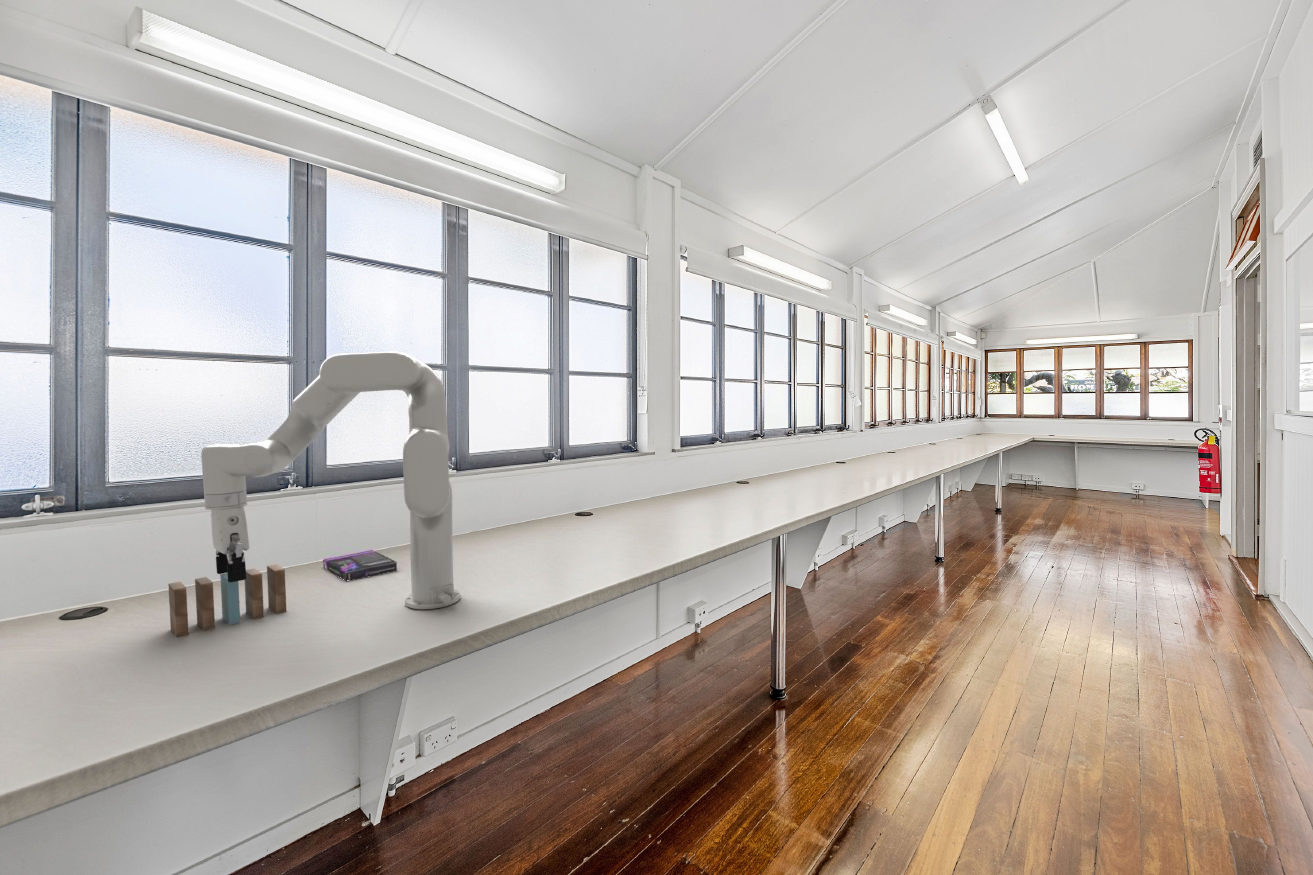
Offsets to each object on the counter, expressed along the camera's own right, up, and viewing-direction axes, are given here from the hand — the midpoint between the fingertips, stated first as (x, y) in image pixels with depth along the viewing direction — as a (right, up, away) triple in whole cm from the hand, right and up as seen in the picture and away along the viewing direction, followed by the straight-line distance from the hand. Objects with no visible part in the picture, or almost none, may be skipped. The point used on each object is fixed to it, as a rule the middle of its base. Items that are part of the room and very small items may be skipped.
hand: (231, 576), depth 130 cm
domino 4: (+3, -10, +4) cm, 11 cm away
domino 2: (-3, -10, -3) cm, 11 cm away
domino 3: (0, -10, 0) cm, 10 cm away
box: (+8, -8, +40) cm, 42 cm away
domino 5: (+6, -9, +7) cm, 13 cm away
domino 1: (-6, -10, -6) cm, 14 cm away
